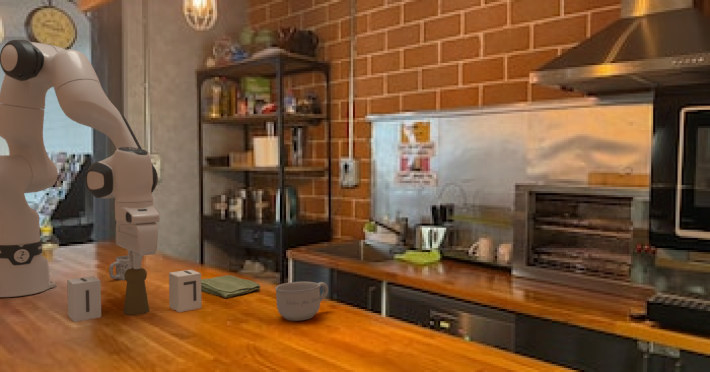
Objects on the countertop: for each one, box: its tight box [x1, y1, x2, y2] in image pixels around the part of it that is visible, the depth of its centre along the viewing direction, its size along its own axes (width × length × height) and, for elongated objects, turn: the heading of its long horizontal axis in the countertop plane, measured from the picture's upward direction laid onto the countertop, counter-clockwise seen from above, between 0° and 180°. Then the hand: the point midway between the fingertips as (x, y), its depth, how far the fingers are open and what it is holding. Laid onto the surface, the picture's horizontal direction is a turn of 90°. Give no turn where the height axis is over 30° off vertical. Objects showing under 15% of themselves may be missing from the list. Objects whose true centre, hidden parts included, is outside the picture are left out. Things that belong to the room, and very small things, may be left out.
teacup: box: [274, 281, 329, 322], centre depth 132 cm, size 14×11×8 cm
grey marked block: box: [66, 275, 102, 323], centre depth 132 cm, size 6×6×9 cm
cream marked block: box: [168, 269, 202, 313], centre depth 140 cm, size 6×6×9 cm
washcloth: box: [201, 274, 261, 299], centre depth 159 cm, size 13×18×3 cm
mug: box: [108, 255, 131, 281], centre depth 172 cm, size 10×7×7 cm
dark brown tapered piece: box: [123, 267, 150, 316], centre depth 136 cm, size 6×6×11 cm
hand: (135, 268), depth 136 cm, fingers closed, pressing on dark brown tapered piece
